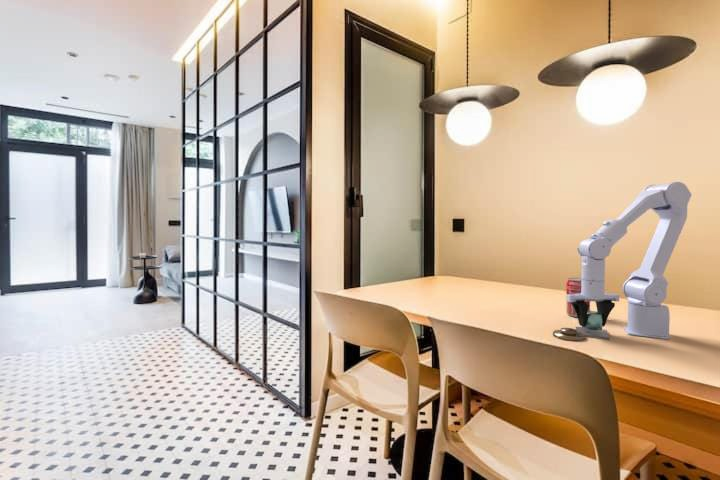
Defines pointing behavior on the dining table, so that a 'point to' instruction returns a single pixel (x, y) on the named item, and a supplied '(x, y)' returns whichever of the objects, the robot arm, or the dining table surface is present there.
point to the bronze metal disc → (568, 334)
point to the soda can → (573, 288)
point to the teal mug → (594, 321)
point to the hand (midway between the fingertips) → (591, 325)
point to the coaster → (593, 333)
